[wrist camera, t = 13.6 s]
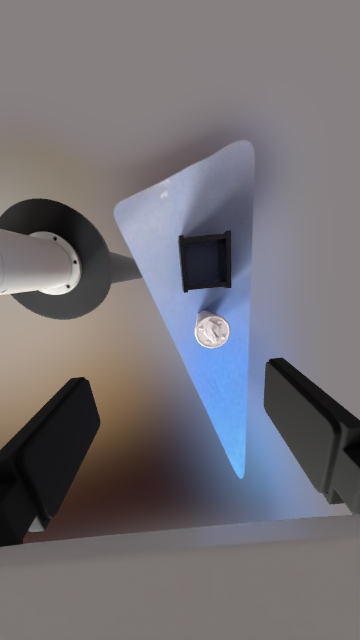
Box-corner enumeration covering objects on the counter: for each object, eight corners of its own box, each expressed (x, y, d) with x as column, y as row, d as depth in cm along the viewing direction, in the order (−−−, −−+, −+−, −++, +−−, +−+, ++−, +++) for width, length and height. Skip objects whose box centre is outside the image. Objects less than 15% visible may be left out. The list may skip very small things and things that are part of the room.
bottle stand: (182, 289, 37) (183, 292, 32) (178, 241, 35) (178, 235, 29) (222, 285, 37) (231, 287, 31) (221, 237, 34) (230, 230, 29)
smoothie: (213, 300, 38) (234, 316, 25) (220, 326, 40) (243, 353, 26) (187, 309, 39) (192, 330, 25) (195, 334, 40) (204, 365, 27)
